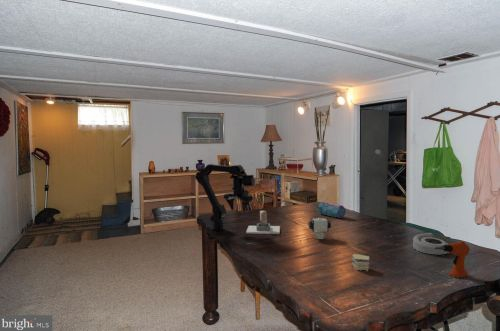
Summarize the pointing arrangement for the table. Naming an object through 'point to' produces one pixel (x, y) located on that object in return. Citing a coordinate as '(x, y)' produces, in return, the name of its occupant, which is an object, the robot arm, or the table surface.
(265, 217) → the birch pin
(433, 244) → the turbocharger housing
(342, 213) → the pencil case
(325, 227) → the pneumatic valve
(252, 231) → the socket plate
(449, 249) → the toy drill
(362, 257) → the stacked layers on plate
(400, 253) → the table surface
